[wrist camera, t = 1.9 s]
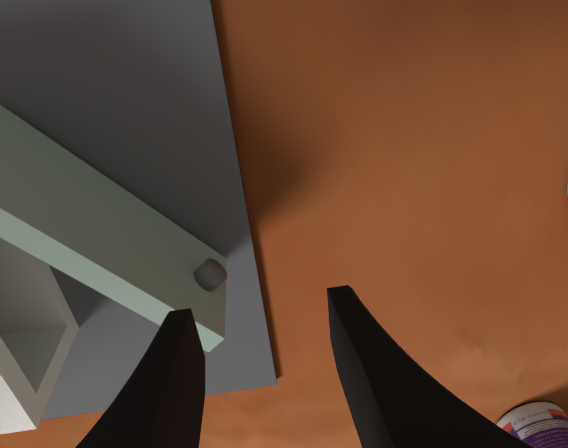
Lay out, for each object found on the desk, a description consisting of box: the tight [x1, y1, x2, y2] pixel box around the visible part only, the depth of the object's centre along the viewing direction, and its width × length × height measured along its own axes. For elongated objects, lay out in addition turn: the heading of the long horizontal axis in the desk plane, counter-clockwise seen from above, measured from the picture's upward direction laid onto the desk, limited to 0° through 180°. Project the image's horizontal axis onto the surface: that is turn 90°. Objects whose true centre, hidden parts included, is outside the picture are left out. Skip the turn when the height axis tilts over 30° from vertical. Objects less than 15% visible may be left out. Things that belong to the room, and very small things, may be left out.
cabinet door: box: [0, 105, 227, 352], centre depth 17 cm, size 12×2×5 cm, turn 46°
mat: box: [0, 0, 277, 420], centre depth 21 cm, size 26×20×1 cm
